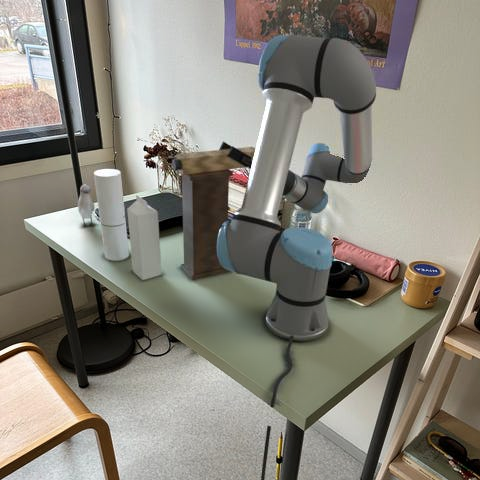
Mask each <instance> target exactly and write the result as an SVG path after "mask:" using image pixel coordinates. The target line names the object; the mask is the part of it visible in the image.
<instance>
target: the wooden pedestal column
mask: <svg viewBox="0 0 480 480" xmlns="http://www.w3.org/2000/svg"><path fill="white" fill-rule="evenodd" d="M177 173H178V174H179V175H180V176H181V200H182V201H181V202H182V203H181V204H182V235H183V237H182V240H183V263H181V264H180V269H181V270H182V271H183V272H184V273H185V274H186V275H187V277H189V279H190V280H191V281H194V280H198V279H203V278H208V277H212V276H216V275H221V274H225V273H230V272H231V271H229V270H227V269H225V268H223V267H222V265H221V264H220V262H219V258H218V255H217V239H218V234H219V231H220V228H222V225H223V223H224V222H226V221H229V211H230V210H231V207H230V206H229V193H230V191H229V190H230V177H233V176H234V171H232V169H229V170H221V171H212V172H204V173H196V174H187V175H183V174H181V173H180V172H179V171H177Z"/></svg>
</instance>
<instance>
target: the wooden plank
mask: <svg viewBox="0 0 480 480" xmlns="http://www.w3.org/2000/svg"><path fill="white" fill-rule="evenodd" d="M236 148H237V149H238V150H240V151H242V152H243V153H245V154H247V155H248V156H250V157H252V159H253V157H254V154H255V150H256V147H254V146H246V147H236ZM229 151H230V149H224V150H219V149H216V150H205V151H196V152H186V153H185V152H184V153H177V154H175V156H176V157H175V158H176V159H172V160H171V167H172V170H173V171H174V172H176V171H177V172H178V171H179V172H180V173H181V174H183V175H187V174H196V173H204V172H212V171H221V170H235V169H246V168H248V167H249V165H248V166H247V167H246V166H244V165H242V164H240V163H239V162H237V161H235V160H233V159H232V158H230V157H228V156H227V155H228V153H229ZM252 159H251V160H252ZM180 173H179V174H180ZM181 174H180V175H181Z"/></svg>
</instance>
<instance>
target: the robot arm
mask: <svg viewBox="0 0 480 480" xmlns="http://www.w3.org/2000/svg"><path fill="white" fill-rule="evenodd" d="M257 70H258V71H259V72H258V74H257V81H258V86H259V88H260V89H261V90H262V98H263V99H264V101H265V103H266V106H265V110H264V114H263V117H262V122H261V126H260V131H259V135H258V138H257V142H256V147H255V148H256V150H255V154H254V157H253V159H252V157H250V156H248V155H247V154H245V153H243V152H242V151H240V150H238V149H237V148H238V147H234V146H233V145H230V144H228V143H227V142H225V141H222V142H221V145H220V147H219V149H218V150H224V149H230V151H229V153H228V155H227V156H228V157H230V158H232V159H233V160H235V161H237V162H239V163H240V164H242V165H244V166H246V168H248V169H249V170H250V171H249V175H248V179H247V183H246V188H245V192H244V196H243V200H242V204H241V207H240V208H239V209H237V210H236V211H234V212H233V214H232V219H228V221H226V222H224V223H223V225H222V228H220V231H219V234H218V239H217V255H218V258H219V262H220V264H221V265H222V267H223V268H225V269H227V270H229V271H230V272H232V273H235V274H236V275H243V276H247V277H249V278H250V277H251V278H254V279H258V280H260V281H261V280H262V281H264V282H265V281H266V282H270V283H272V284H276V289H275V295H274V297H273V299H272V301H271V302H270V305H269V307H268V309H267V310H266V311H267V312H266V316H265V324H266V328H268V330H269V331H270V332H271V333H272V334H274V335H276V336H277V337H279V338H281V339H284V340H287V341H288V343H287V346H286V351H285V355H286V356H285V357H286V359H287V362H288V367H287V368H286V370H285V371H284V372H283V373H281V374H280V375H279V376H278V378H277V379H276V381H275V383H274V385H273V390H272V396H271V401H270V405H269V407H270V408H274V407H275V404H276V401H277V394H278V389H279V387H280V383H281V382H282V380H283V379H284V378H285V377H286V376H287V375H288V374H289V373H290V372H291V370H292V368H293V361H292V358H291V355H290V352H291V351H290V350H291V348H292V345H293V342H299V343H300V342H303V343H304V342H312V341H315V340H318V339H320V338H322V337H324V336H325V334H326V333H327V332H328V328H329V322H330V320H329V313H328V308H327V303H326V295H327V289H328V282H329V277H330V272H331V267H332V265H333V263H332V262H333V260H332V258H333V245H332V243H331V241H330V240H329V239H328V237H327V236H325V234H323V233H321V232H319V231H316V230H314V229H312V228H309V227H304V226H303V227H302V226H299V227H297V226H290V227H287V228H286V229H284V230H283V231H282V232H281V228H282V223H281V222H280V220H279V218H278V213H279V210H280V206H281V202H282V198H283V199H284V202H285V203H288V202H290V203H292V204H294V205H295V206H298V207H299V208H301V209H302V210H303V211H307V212H309V213H311V214H313V215H314V214H320V213H322V212H323V211H324V210H325V209H326V207H327V206H328V203H329V196H328V195H329V194H328V193H327V192H326V191H325V190H324V189H325V186H326V183H327V181H329V182H330V181H331V182H336V183H341V182H342V184H347V183H358V182H360V181H362V180H363V179H364V177H366V175H367V173H368V171H369V168H370V166H371V162H372V160H373V129H372V128H373V120H372V119H373V117H372V116H373V115H372V105H374V103H375V101H376V97H377V82H376V78H375V75H374V71H373V68H372V67H371V64H370V63H369V61H368V60H367V58H366V57H365V56H364V54H363V53H362V52H361V51H360V50H359V49H358V48H357V47H356V46H355V45H354V44H353V43H351V42H349V41H348V40H345V39H343V38H342V39H341V38H338V37H332V38H331V37H318V36H307V35H297V34H293V33H291V34H287V35H286V34H279V35H275V36H273V38H271V39H270V40H269V41H268V42H267V44H266V45H265V46H264V49H263V51H262V54H261V56H260V59H259V64H258V69H257ZM315 98H318V99H319V98H321V99H329V100H331V101H333V105H334V107H335V109H336V110H337V112H338V114H339V122H340V130H341V141H342V148H343V149H342V150H343V156H344V158H345V159H343V158H341V157H339V156H335V155H332V154H330V151H329V147H328V146H326V145H327V144H326V143H322V142H316V143H313V144H312V145H311V146H310V148H309V151H308V154H307V156H306V158H305V163H304V167H303V170H302V174H301V176H300V175H299V174H298V173H295V172H293V171H292V170H290V166H291V163H292V159H293V155H294V151H295V147H296V143H297V141H298V140H297V139H298V135H299V130H300V128H301V123H302V119H303V116H304V113H306V112H307V111H309V110H310V109H312V108H313V104H314V100H315ZM325 144H326V145H325ZM251 159H252V160H251ZM248 165H249V167H247V166H248ZM271 431H272V426H270V425H266V432H265V441H264V450H263V459H262V465H261V466H262V467H261V476H260V480H265V479H266V478H265V477H266V471H267V462H268V453H269V446H270V437H271Z"/></svg>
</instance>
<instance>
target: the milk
mask: <svg viewBox="0 0 480 480" xmlns="http://www.w3.org/2000/svg"><path fill="white" fill-rule="evenodd" d="M135 197H136V198H135V199H136V200H135V201H134V202H133V203H132V204H130V206H128V208H127V209H126V212H127V221H128V222H127V223H128V231H129V241H130V242H129V243H130V253H131V262H132V272H133V273H134V274H135V275H137V277H139V279H141V280H142V281H145V280H149V279H152V278H155V277H158V276H162V258H161V257H162V256H161V244H160V243H161V242H160V225H159V211H158V210H156V209H155V208H153V207H151V206H150V205H149V204H148V201H146V200H145V199H144V198H142V197H140V195H136V196H135Z"/></svg>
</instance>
